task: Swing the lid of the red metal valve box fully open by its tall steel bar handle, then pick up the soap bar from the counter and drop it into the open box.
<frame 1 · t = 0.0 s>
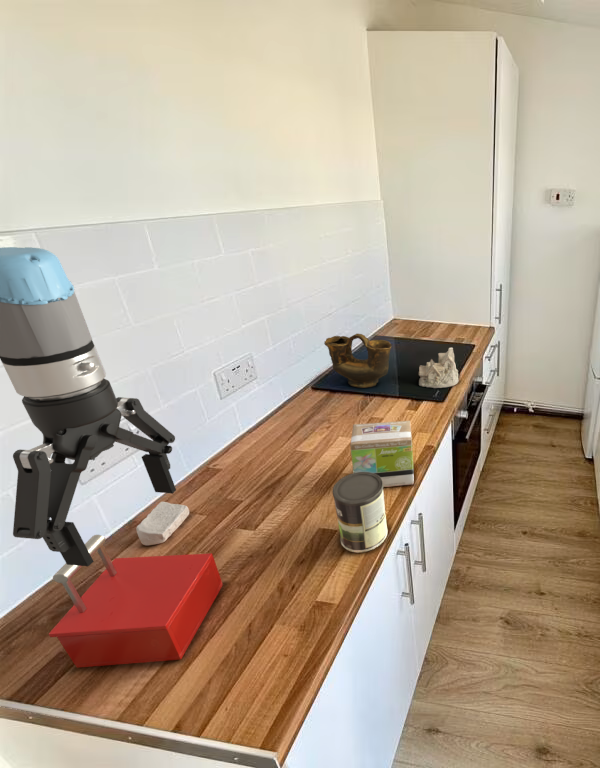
hand: (127, 523, 60), 29 cm above the worktop, tool pointing down, fingers open, 13 cm apart
ceramic cottage: (439, 379, 173), on the worktop
coffee can: (364, 536, 98), on the worktop
valve box: (157, 622, 77), on the worktop
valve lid: (130, 572, 72), point 13 cm above the worktop, hinge at 0.0°
soap bar: (165, 529, 97), on the worktop
pottery vessel: (362, 382, 167), on the worktop
tea box: (385, 477, 117), on the worktop
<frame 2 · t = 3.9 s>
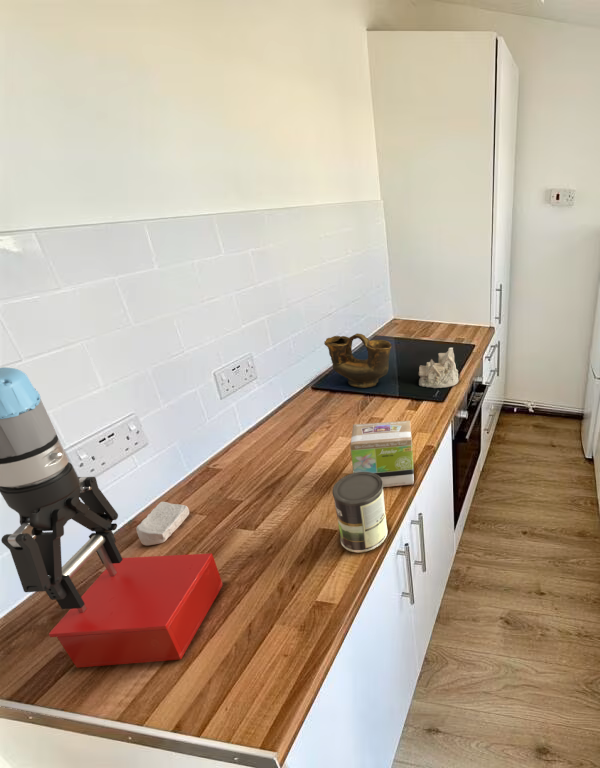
hand: (94, 582, 72), 11 cm above the worktop, tool pointing down, fingers closed on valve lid, 8 cm apart
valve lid: (130, 572, 72), point 13 cm above the worktop, hinge at 0.0°, touching gripper
everything else where it was.
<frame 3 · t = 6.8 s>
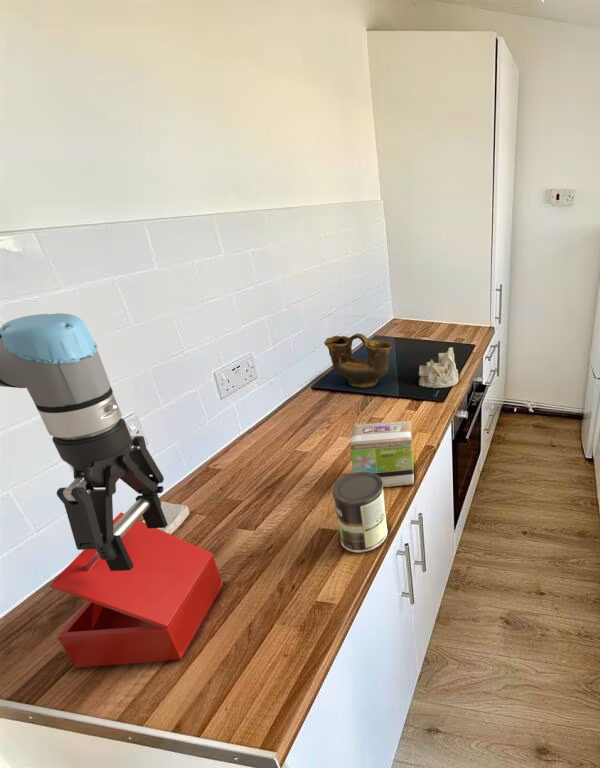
hand: (141, 546, 70), 19 cm above the worktop, tool pointing down, fingers closed on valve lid, 8 cm apart
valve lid: (155, 552, 70), point 17 cm above the worktop, hinge at 41.4°, touching gripper
everything else where it was.
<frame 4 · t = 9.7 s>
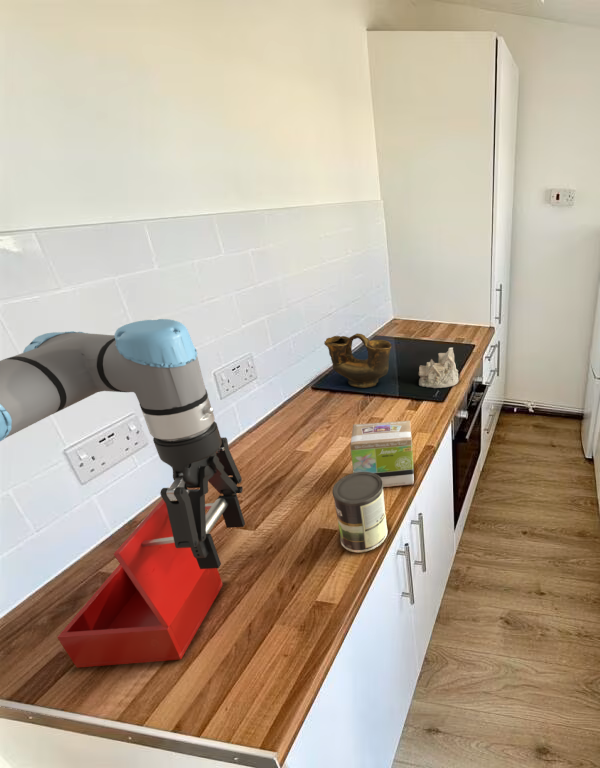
hand: (224, 545, 71), 18 cm above the worktop, tool pointing down, fingers closed on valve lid, 8 cm apart
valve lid: (199, 550, 71), point 17 cm above the worktop, hinge at 83.0°, touching gripper
everything else where it was.
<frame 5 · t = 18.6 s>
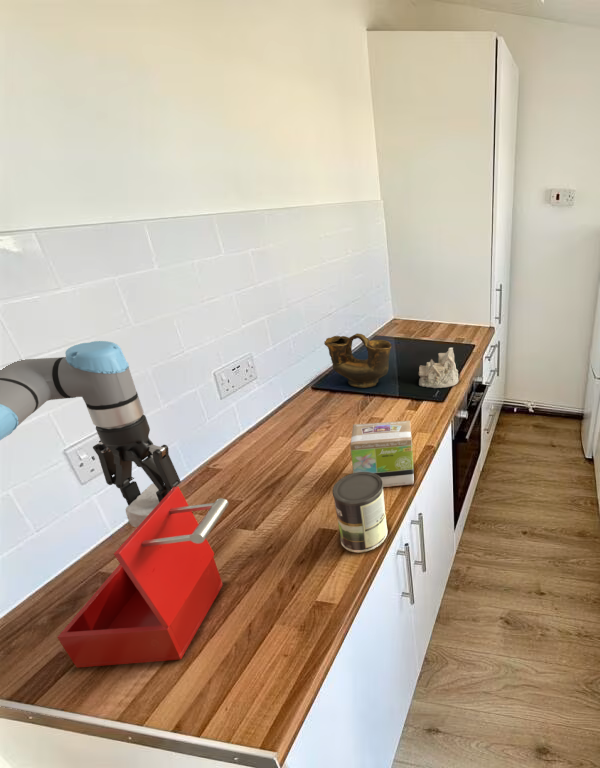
hand: (154, 510, 94), 6 cm above the worktop, tool pointing down, fingers closed on soap bar, 7 cm apart
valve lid: (199, 550, 71), point 17 cm above the worktop, hinge at 83.1°
soap bar: (155, 512, 94), point 5 cm above the worktop, touching gripper
everything else where it was.
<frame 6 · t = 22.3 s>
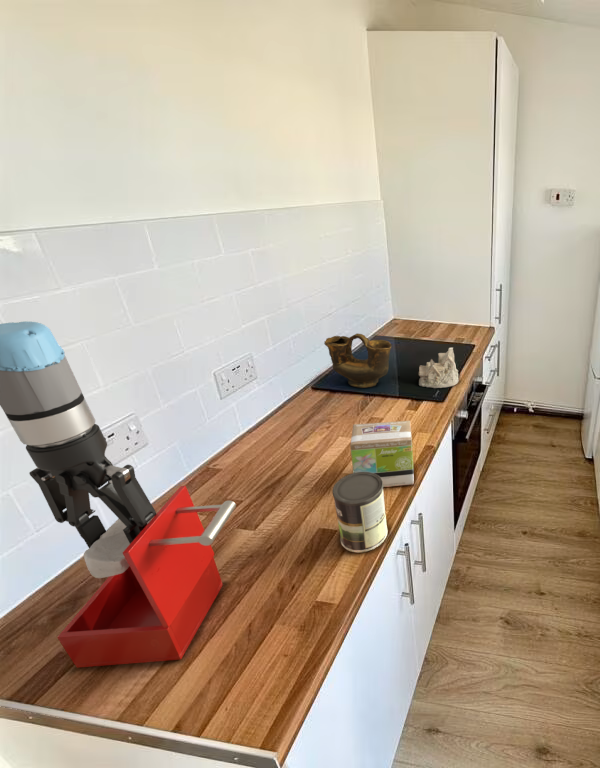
hand: (126, 552, 70), 17 cm above the worktop, tool pointing down, fingers closed on soap bar, 7 cm apart
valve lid: (204, 551, 72), point 17 cm above the worktop, hinge at 87.2°, touching gripper, hand
soap bar: (127, 554, 70), point 17 cm above the worktop, touching gripper
everything else where it was.
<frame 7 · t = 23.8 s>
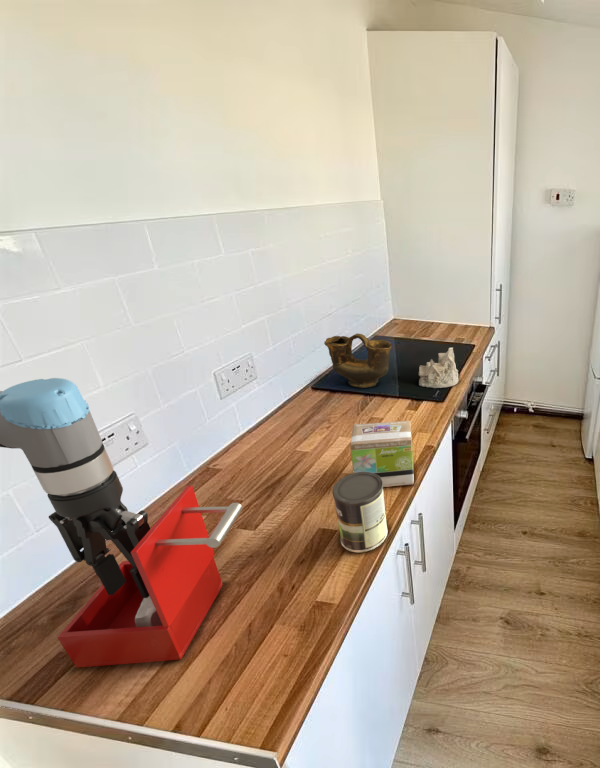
hand: (134, 589, 73), 9 cm above the worktop, tool pointing down, fingers open, 5 cm apart
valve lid: (208, 552, 72), point 16 cm above the worktop, hinge at 90.9°
soap bar: (169, 602, 77), point 4 cm above the worktop, touching valve box
everything else where it was.
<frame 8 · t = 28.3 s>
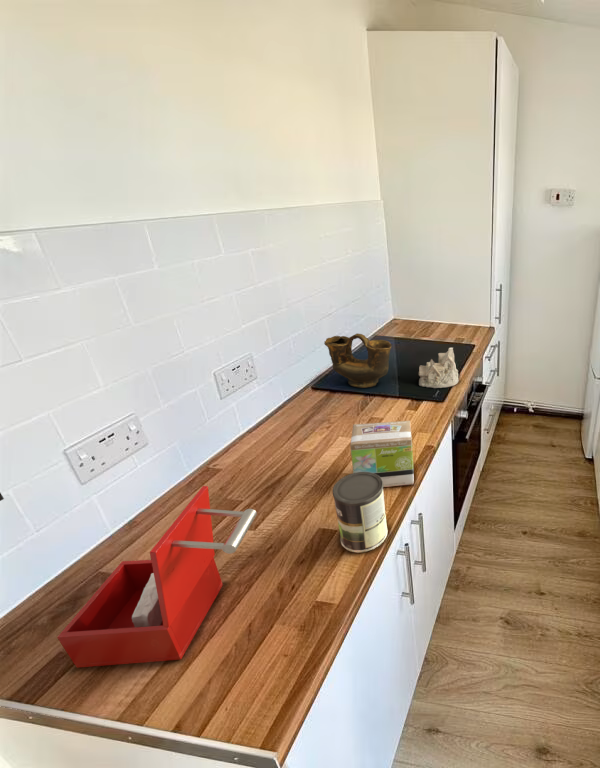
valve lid: (216, 555, 72), point 16 cm above the worktop, hinge at 99.4°
everything else where it was.
at the end: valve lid at +99° (first picture: +0°); soap bar inside the target area in the valve box (2.4 cm from its centre), point 3.8 cm above the valve box's base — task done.
